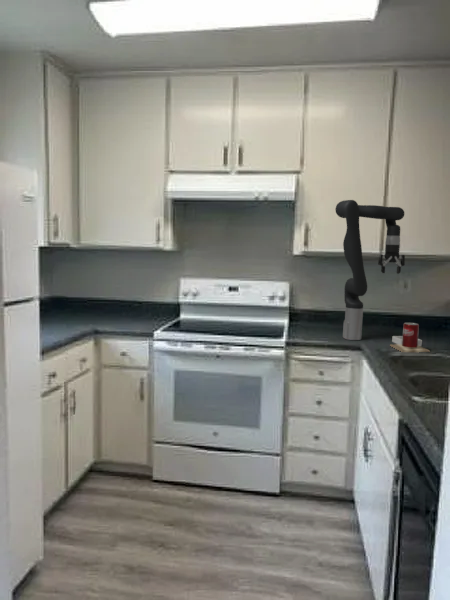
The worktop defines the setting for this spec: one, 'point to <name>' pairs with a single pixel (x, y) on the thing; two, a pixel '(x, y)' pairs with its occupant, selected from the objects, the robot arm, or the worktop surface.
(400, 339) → the can collar
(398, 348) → the trivet
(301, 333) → the worktop surface
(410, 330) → the soda can
